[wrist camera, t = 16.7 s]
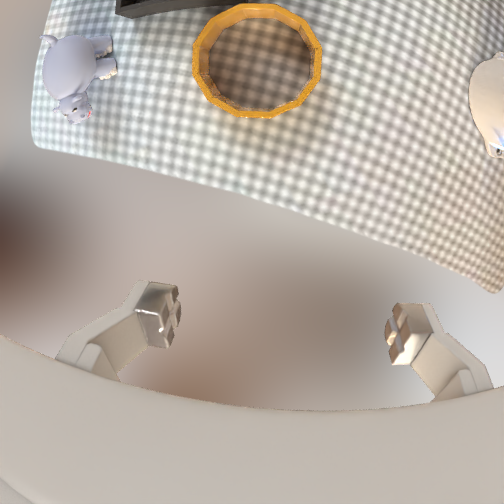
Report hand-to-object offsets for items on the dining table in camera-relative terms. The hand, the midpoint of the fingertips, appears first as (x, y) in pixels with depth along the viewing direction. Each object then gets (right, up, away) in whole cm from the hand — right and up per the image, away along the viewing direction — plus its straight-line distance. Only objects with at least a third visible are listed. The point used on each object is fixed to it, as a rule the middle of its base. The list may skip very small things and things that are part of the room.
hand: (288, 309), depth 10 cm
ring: (0, +26, +20) cm, 33 cm away
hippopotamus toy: (-26, +29, +22) cm, 45 cm away
